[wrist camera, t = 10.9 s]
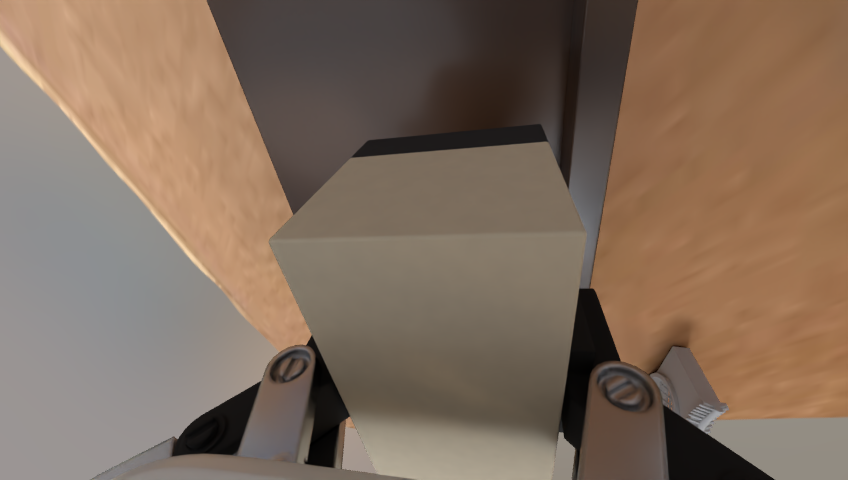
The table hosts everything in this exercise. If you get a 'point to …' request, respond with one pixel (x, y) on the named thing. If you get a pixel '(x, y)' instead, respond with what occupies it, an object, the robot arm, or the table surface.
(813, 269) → the table surface
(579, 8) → the shelf
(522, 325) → the tall beige carton
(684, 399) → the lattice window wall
